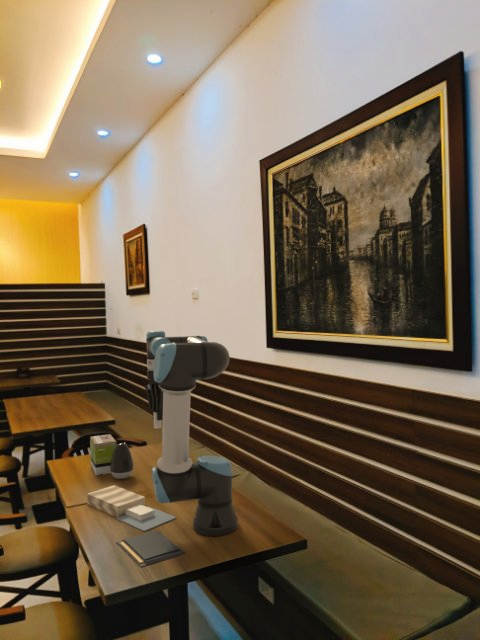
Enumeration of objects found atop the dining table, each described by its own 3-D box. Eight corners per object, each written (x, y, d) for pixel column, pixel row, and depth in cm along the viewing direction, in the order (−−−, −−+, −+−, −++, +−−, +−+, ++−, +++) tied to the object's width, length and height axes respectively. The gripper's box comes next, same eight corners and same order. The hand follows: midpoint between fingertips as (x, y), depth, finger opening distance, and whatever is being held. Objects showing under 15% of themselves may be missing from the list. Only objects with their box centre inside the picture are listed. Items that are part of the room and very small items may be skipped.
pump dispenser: (136, 473, 228) (136, 440, 228) (129, 481, 218) (129, 446, 218) (115, 473, 229) (114, 440, 229) (106, 481, 219) (106, 446, 219)
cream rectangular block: (154, 515, 180) (154, 509, 180) (140, 520, 175) (140, 515, 175) (139, 509, 186) (138, 503, 186) (125, 514, 181) (125, 508, 181)
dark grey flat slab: (186, 549, 152) (138, 564, 144) (186, 556, 152) (138, 570, 144) (159, 526, 169) (115, 538, 161) (159, 532, 169) (115, 544, 161)
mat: (176, 518, 178) (176, 517, 178) (144, 531, 168) (144, 530, 168) (148, 507, 189) (148, 506, 189) (116, 519, 178) (116, 517, 178)
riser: (145, 507, 188) (144, 497, 188) (117, 517, 179) (117, 506, 179) (114, 495, 202) (114, 485, 202) (87, 504, 193) (87, 493, 193)
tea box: (90, 466, 240) (89, 435, 239) (111, 463, 244) (111, 433, 244) (95, 476, 226) (94, 443, 226) (117, 472, 230) (117, 440, 230)
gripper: (139, 369, 204) (140, 427, 204) (159, 371, 195) (160, 432, 196) (153, 367, 210) (154, 424, 210) (174, 369, 201) (175, 428, 201)
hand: (157, 427), depth 203 cm, fingers closed
